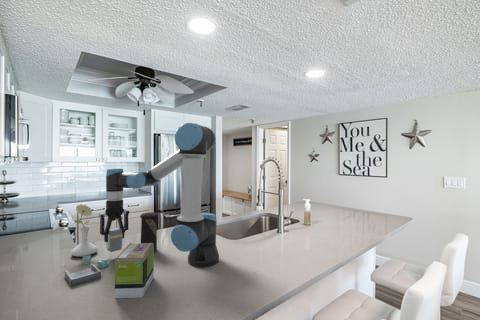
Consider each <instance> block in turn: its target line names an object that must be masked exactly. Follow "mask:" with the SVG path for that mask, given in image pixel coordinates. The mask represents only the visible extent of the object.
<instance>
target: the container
mask: <svg viewBox="0 0 480 320" xmlns="http://www.w3.org/2000/svg"><path fill="white" fill-rule="evenodd" d="M139 216H140V217H139V218H140V219H141V222H140V243H154V253H155V252H156V251H157V249H158V217H159V214H158V213H157V212H151V211H150V212H143V213H142V214H140V215H139Z"/></svg>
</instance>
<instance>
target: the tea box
mask: <svg viewBox="0 0 480 320" xmlns="http://www.w3.org/2000/svg"><path fill="white" fill-rule="evenodd" d="M154 254H155V252H154V243H141V242H140V243H138V242H137V243H136V242H134V243H131V242H130V243H129V244H128V245H126V247H125V248H124V249H123V250H122V251H121V252H120V253H119V254H118V255H117V256H115V258H114V299H139V298H140V299H141V298H143V297H145V294H146V292H147V290H148V289H149V287H150V285H151V283H152V281H153V279H154V276H155V269H154V268H155V265H154V260H155V258H154V257H155V255H154Z"/></svg>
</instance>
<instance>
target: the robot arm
mask: <svg viewBox="0 0 480 320" xmlns="http://www.w3.org/2000/svg"><path fill="white" fill-rule="evenodd" d="M215 135H216V134H215V133H214V131H213V130H212V129H211V128H209V127H207V126H203V125H201V124H198V123H193V122H186V123H182V124H181V125H180V126H179V127H178V128H177V129H176V131H175V134H174V142H175V145H176V146H177V148H178V149H177V150H176V151H175V152H173V153H172V154H170V155H168V157H165V159H163V160H161V161H160V162H159V163H156V165H154V166H153V167H151V168H150V169H148V170H147V171H140V172H139V171H137V172H124V168H121V167H120V168H118V167H115V168H113V167H112V168H110V167H108V168H107V169H106V173H105V175H106V176H105V181H106V182H105V193H106V194H105V199H106V201H105V211H104V212H102V213H99V214H98V217H99V234H100V235H101V236H103V238H104V239H103V241H104V243H105V244H106V246H105V248H106V250H107V249H110V235H109V230H110V229H111V226H112V223H113V220H115V219H116V221H117V223H118V227H119V228H121V229H122V240H123V239H125V233H126V231H128V230H129V214H130V210H128V209H124V189H132V190H137V189H142V188H143V187H144V188H145V187H154V186H156V185H159V183H160V182H161V180H162V179H163V178H165V177H166V176H167V177H168V175H170V174H172V173H174V172H175V171H176V170H177V169H179V168H180V167H181V191H180V192H181V193H180V214H178V216H177V217H176V225H175V226H174V227H173V229H172V231H171V233H170V240H171V243H172V244H173V246H174V247H175V249H177V250H178V251H180V252H184V253H185V252H186V253H187V252H188V255H187V263H188V264H189V265H190V266H193V267H197V268H198V267H199V268H207V267H212V266H215V265H217V264H218V263H219V262H220V253H219V250H218V247H217V223H218V221H217V215H216V214H214V213H211V212H201V211H202V190H203V188H202V187H203V186H202V185H203V184H202V183H203V166H204V165H203V163H204V162H203V160H204V158H205V157H206V156H207V152H210V150H212V148H213V147H214V146H215V143H216V136H215ZM122 215H123V219H122ZM106 217H107V222H106V221H105V220H106V219H105V218H106ZM105 223H106V225H105Z"/></svg>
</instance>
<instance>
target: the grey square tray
mask: <svg viewBox="0 0 480 320" xmlns="http://www.w3.org/2000/svg"><path fill="white" fill-rule="evenodd" d="M90 264H91V267H89V268H86V269H82V270H79V271H75V272H71V273H69V271H68V270H64V277H65V279H66V280H67V282H68V283H69V285H70V287H73V286H77V285H80V284H83V283H86V282H91V281H93V280H97V279H100V278H102V271H101V270H100V269H99V267H97V265H95V264H94V263H90Z"/></svg>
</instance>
